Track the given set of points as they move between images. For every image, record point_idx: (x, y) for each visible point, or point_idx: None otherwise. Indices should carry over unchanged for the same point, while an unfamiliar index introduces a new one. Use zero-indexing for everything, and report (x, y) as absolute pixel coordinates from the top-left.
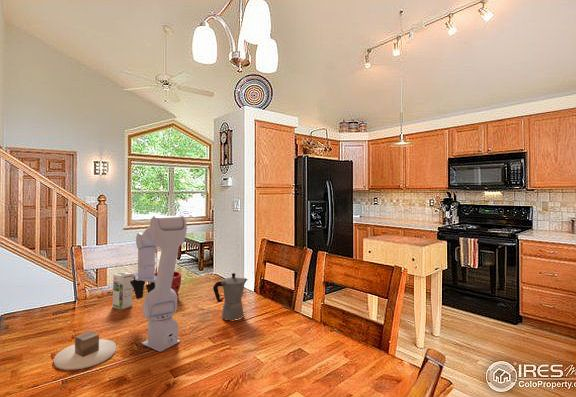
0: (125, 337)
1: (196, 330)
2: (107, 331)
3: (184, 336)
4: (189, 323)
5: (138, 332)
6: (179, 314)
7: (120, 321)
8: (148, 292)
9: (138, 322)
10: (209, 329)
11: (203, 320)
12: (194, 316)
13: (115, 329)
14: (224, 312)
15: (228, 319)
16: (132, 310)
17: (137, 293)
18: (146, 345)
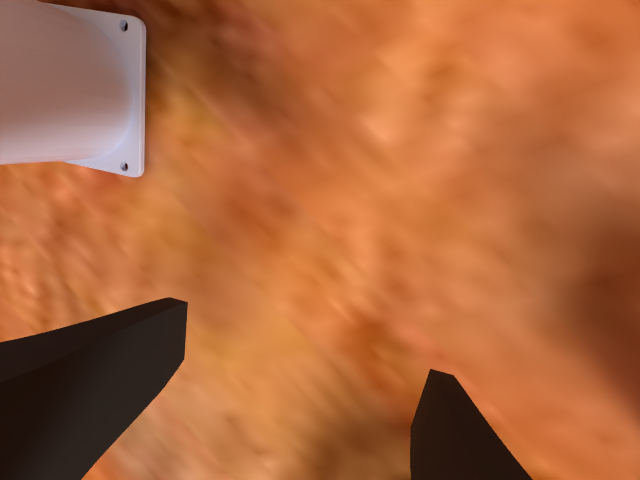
0: (318, 50)
1: (50, 289)
2: (535, 62)
3: (44, 212)
4: None
5: (297, 150)
6: (265, 434)
7: (571, 246)
8: (18, 362)
9: (417, 275)
10: (15, 317)
11: None
12: (177, 427)
13: (496, 119)
14: None
15: None
16: (627, 431)
17: (446, 438)
18: (95, 11)
